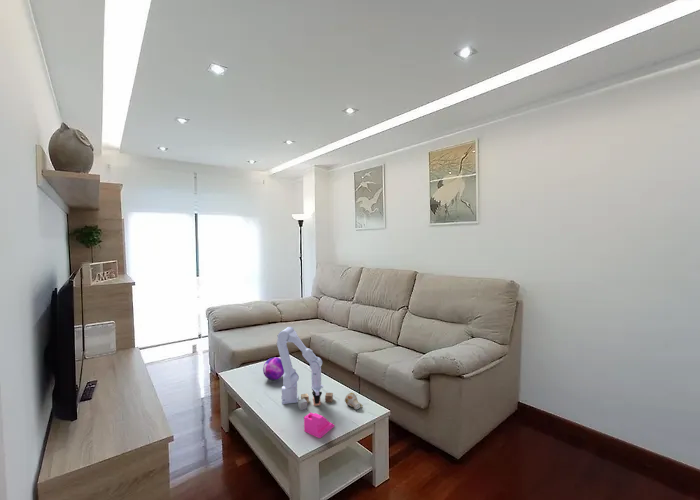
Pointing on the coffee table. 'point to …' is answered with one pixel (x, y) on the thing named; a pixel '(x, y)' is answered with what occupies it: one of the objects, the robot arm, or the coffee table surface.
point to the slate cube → (302, 404)
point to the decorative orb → (273, 368)
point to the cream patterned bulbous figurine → (352, 401)
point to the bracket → (316, 425)
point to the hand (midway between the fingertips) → (316, 401)
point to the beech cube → (305, 397)
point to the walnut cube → (329, 397)
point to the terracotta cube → (314, 402)
